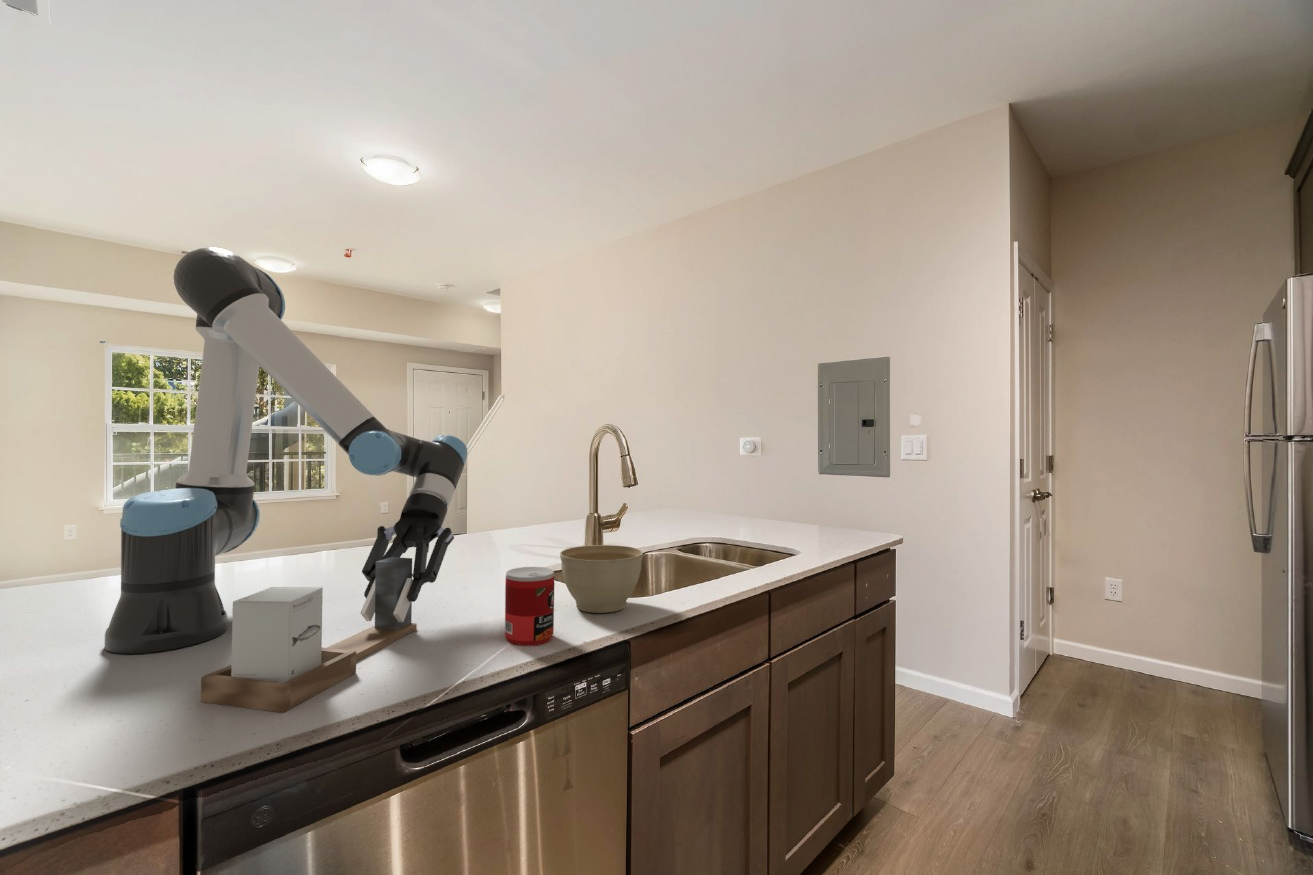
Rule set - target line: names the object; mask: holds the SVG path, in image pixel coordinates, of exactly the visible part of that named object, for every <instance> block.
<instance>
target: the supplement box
mask: <svg viewBox="0 0 1313 875" xmlns="http://www.w3.org/2000/svg"><path fill="white" fill-rule="evenodd" d="M323 588H324V587H320V586H319V587H318V586H315V587H314V586H271V587H268V588H265V589H263V590H261V591H257V592H255V593H253V594H249V595H247V596H245V597H241V598H239V599H237V600H233V601H232V619H231V620H232V623H231V625H232V626H231V627H232V628H231V664H230V665H231V677H238V678H246V679H254V680H263V681H271V682H279V683H285V682H287V681H289V680H291V679H293V678H295V677H297V676H299V675H301V674H303V673H305V672H307V671H309V670H311V669H313V668H315V667H317V666H319V665H321V650H322V648H323V647H322V646H323V645H322V644H323V643H322V641H323V640H322V639H323V638H322V637H323V591H324V590H323Z"/></svg>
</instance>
